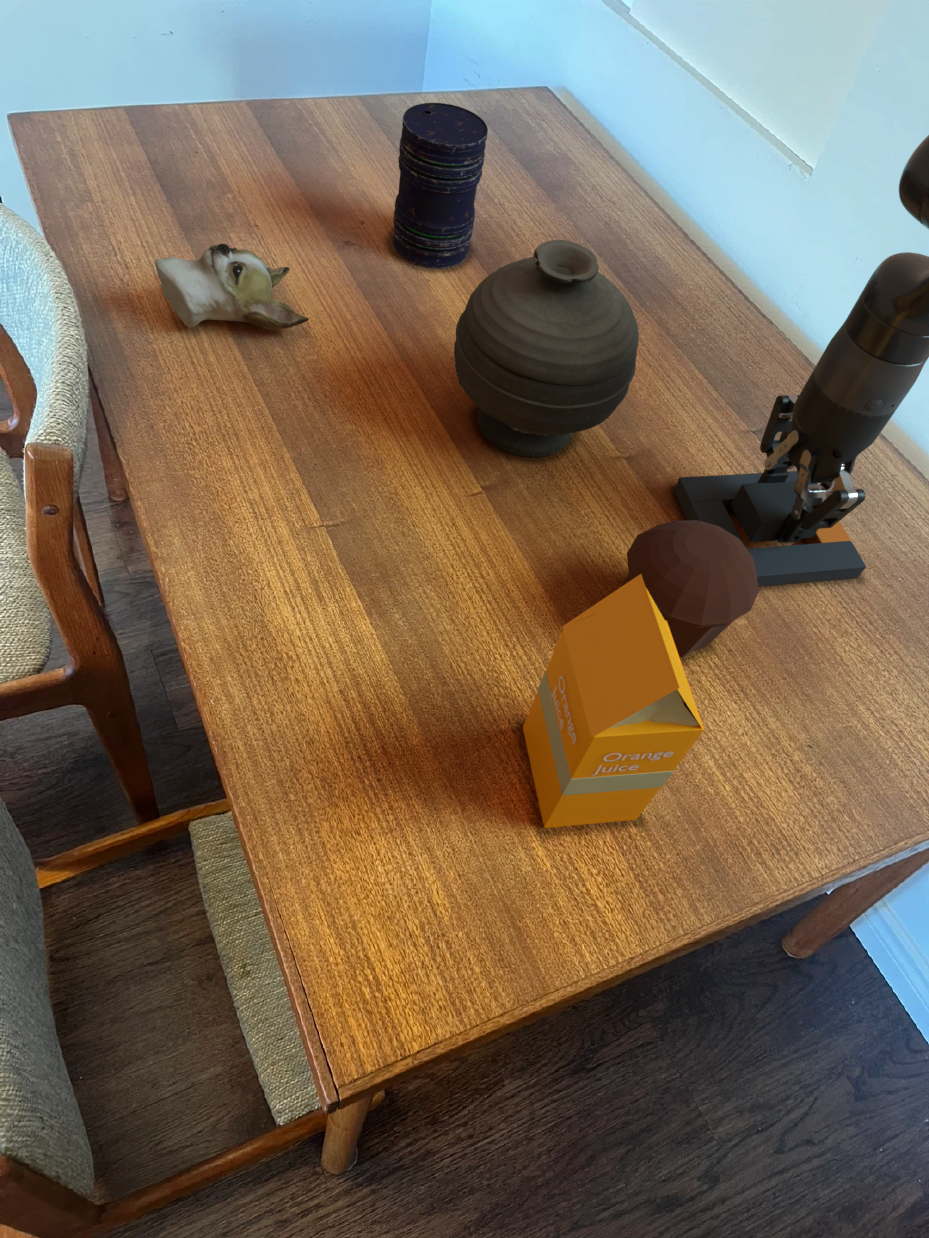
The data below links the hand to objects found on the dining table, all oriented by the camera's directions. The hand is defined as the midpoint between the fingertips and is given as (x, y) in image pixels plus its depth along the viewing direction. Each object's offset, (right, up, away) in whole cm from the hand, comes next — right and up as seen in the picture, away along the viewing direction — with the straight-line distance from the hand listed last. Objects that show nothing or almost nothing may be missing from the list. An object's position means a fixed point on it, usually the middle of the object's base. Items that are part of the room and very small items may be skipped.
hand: (773, 518), depth 87 cm
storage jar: (-35, +37, +23) cm, 56 cm away
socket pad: (0, -1, +2) cm, 2 cm away
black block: (0, 0, 0) cm, 0 cm away
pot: (-24, +11, +6) cm, 27 cm away
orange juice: (-22, -22, -17) cm, 36 cm away
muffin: (-12, -10, -6) cm, 17 cm away
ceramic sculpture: (-56, +23, +10) cm, 62 cm away
